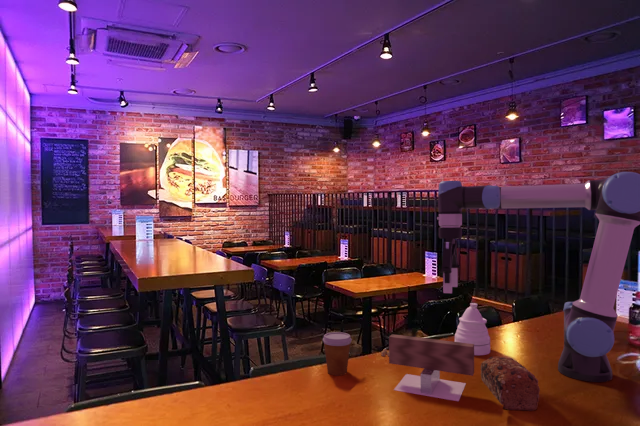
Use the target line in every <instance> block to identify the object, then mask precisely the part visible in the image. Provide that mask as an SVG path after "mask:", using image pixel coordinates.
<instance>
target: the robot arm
mask: <svg viewBox="0 0 640 426" xmlns="http://www.w3.org/2000/svg"><path fill="white" fill-rule="evenodd" d="M437 198H438V199H437V201H438V216H437V217H436V219H437V221H438V226H440V227H438V238H439V239H442V240H443V239H445V241H443V242H442V243H443V244H442V245H443V247H442V248H443V251H442V263H441V264H442V266H441V267H442V268H441V269H440V274H441V273H442V288H443V289H442V293H443V294H453V288H458V284H459V283H458V281H459V280H458V279H459V278H458V277H459V275H458V274H459V273H458V269H460V267H461V265H460V264H459V262H458V261H459V259H458V241H457V240H458V239H462V237H463V228H462V226H463V214H462V213H463V212H462V210H469V209H470V210H475V209H476V210H477V209H478V210H479V209H480V210H497V209H498V210H500V209H502V210H504V209H505V210H506V209H548V208H549V209H550V208H553V209H554V208H555V209H556V208H557V209H558V208H559V209H560V208H585V209H587V210H588V211H595V216H596V218H597V219H598V222H599V223H598V227H597V230H596V235H595V239H594V241H593V247H592V250H591V254H590V256H589V257H590V258H589V261H588V265H587V270H586V274H585V277H584V281H583V285H582V287H581V288H582V289H581V293H580V296H579V299H577V300H574V301H567V302H564V305H563V310H562V312H563V350H562V351H561V353H560V354H561V355H560V358H559V360H558V363H557V370H558V372H559V373H560V374H562V375H564V376H565V377H569V378H571V379H574V380H577V381H578V380H579V381H583V382H590V383H591V382H592V383H604V382H609V381H612V379H613V370H612V367H611V364H610V361H609V357H608V356H607V354H608V353H609V352H610V351H611V350H612V349H613V346H614V344H615V334H614V332H615V327H616V324H617V319H618V317H619V316H618V315H619V314H618V313H617V311H615V309H614V307H615V304H616V303H615V302H616V298H617V294H618V291H619V287H620V284H621V280H622V277H623V272H624V268H625V266H626V262H627V261H626V260H627V257H628V253H629V250H630V246H631V242H632V238H633V234H634V230H635V229H636V227H638V226H639V225H640V173H638V172H635V171H634V172H633V171H620V172H617V173H614V174H612V175H610V176H609V177H606V178H600V179H590V180H589V179H588V180H587V181H585V183H572V184H571V183H570V184H568V183H567V184H566V183H565V184H546V185H523V186H522V185H521V186H502V187H501V186H498V185H490V184H489V185H488V184H487V185H473V186H471V185H470V186H469V185H468V186H464V185H462V181H460V180H442V181H440V182H439V183H438V193H437Z"/></svg>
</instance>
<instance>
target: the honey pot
mask: <svg viewBox="0 0 640 426" xmlns="http://www.w3.org/2000/svg"><path fill="white" fill-rule="evenodd" d="M469 305H470V306H469V307H467V308H465V311H464V312H463V314H462V315H461V317H459V318H458V320H459V323H458V325H457V327H456V328H457V329H456V331H455V334H454V342H461V343H469V344H474V356H485V355H489V354H490V353H491V336H490V335H489V331H488V327H487V326H486V324H487V323H488V322H487V321H488V320H487V319H486V318H484V317H483V316H482V313H480V310H479V309H478V303H475V302H470V303H469Z"/></svg>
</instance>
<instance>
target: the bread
mask: <svg viewBox="0 0 640 426" xmlns="http://www.w3.org/2000/svg"><path fill="white" fill-rule="evenodd" d="M480 378H481V381H482V382H483V384H484V386H486V387H487V388H488V390H489V391H490V392H491V394H492V395H493V396H494V397H495V399H497V401H498V402H499V403H500V404H501V405H502V408H503V409H505V410H509V411H510V410H511V411H530V412H531V411H536V410H537V408H538V405H539V402H540V391H541V390H540V389H541V388H540V387H539V380H538V378H536V376H535V375H534V374H533V373H532V372H530V370H528V369H527V368H526V367H525V366H523V364H521V363H520V362H518V361H517V360H516V359H514V358H511V357H506V356H505V357H504V356H490V357H489V358H487V359H485V360H483V361H482V362H481V364H480Z"/></svg>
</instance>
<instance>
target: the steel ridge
mask: <svg viewBox="0 0 640 426" xmlns="http://www.w3.org/2000/svg"><path fill="white" fill-rule="evenodd" d="M440 375H441V371H437V370H431V369H424V368H422V371H421V372H420V376H421V393H423V394H429V395H432V393H433V391H434V389H435V388H436V386H437V384H438V382H439V381H440V379H441V378H440Z"/></svg>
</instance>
